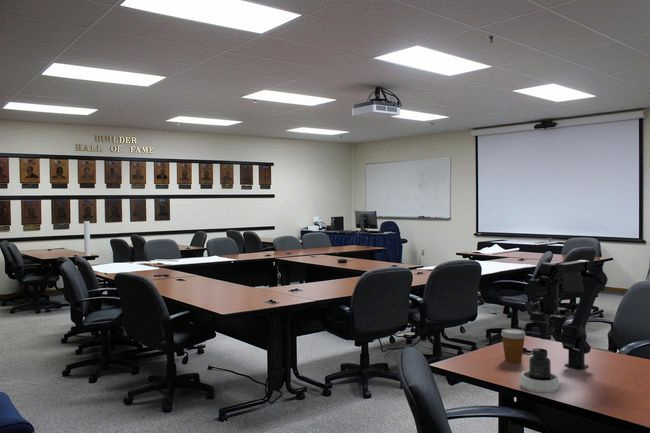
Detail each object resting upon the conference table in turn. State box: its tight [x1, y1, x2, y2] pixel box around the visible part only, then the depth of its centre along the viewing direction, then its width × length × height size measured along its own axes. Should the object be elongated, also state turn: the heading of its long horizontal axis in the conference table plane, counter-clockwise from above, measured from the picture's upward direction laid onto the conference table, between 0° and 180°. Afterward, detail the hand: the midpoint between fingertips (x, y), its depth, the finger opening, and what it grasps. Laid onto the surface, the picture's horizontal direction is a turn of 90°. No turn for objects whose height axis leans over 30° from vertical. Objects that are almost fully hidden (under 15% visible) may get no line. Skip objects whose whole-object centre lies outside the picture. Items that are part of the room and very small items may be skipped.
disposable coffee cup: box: [500, 328, 526, 363], centre depth 216 cm, size 10×10×12 cm
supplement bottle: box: [528, 347, 552, 381], centre depth 184 cm, size 7×7×12 cm
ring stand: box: [520, 370, 559, 394], centre depth 184 cm, size 12×12×4 cm
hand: (549, 337), depth 201 cm, fingers open, 9 cm apart
